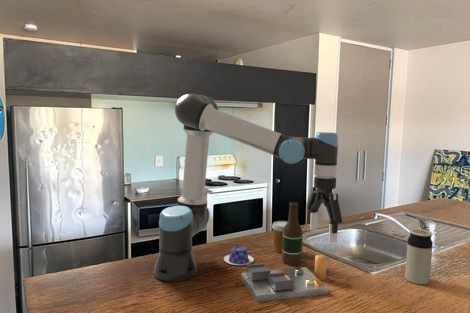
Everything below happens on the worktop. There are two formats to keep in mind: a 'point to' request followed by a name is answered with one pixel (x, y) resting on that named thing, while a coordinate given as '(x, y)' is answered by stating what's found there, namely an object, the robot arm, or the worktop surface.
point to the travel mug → (419, 256)
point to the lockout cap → (320, 267)
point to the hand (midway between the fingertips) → (322, 235)
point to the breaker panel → (303, 287)
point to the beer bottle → (292, 238)
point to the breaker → (257, 271)
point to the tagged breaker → (280, 281)
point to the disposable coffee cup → (278, 234)
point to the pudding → (238, 256)
